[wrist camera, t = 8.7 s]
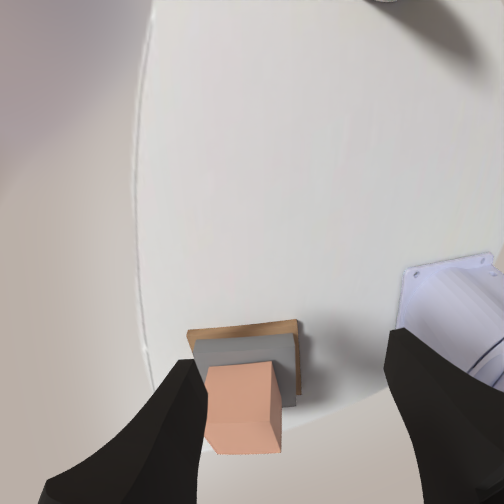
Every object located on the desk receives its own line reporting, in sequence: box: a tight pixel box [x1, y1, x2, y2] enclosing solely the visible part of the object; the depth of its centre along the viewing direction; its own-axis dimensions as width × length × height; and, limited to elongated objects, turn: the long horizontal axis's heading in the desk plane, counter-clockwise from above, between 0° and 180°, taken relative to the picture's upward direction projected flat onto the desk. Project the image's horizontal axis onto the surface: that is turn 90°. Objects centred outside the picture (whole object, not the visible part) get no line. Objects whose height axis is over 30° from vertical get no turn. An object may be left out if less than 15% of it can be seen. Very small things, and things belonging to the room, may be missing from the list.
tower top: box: [193, 333, 296, 408], centre depth 21 cm, size 7×7×2 cm
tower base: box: [186, 319, 302, 395], centre depth 22 cm, size 8×8×2 cm
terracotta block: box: [204, 361, 282, 455], centre depth 18 cm, size 4×4×5 cm
